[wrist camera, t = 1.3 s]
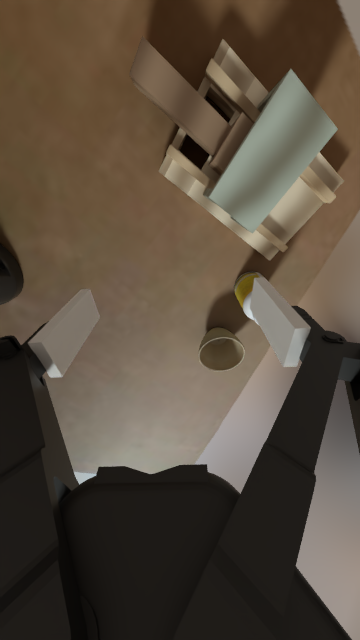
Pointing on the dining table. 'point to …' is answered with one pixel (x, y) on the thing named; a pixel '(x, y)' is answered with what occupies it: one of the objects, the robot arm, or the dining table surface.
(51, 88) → the dining table surface
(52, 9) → the dining table surface
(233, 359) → the flower pot
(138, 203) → the dining table surface
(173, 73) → the tan wooden bar
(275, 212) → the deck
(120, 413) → the dining table surface
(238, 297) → the pill bottle
